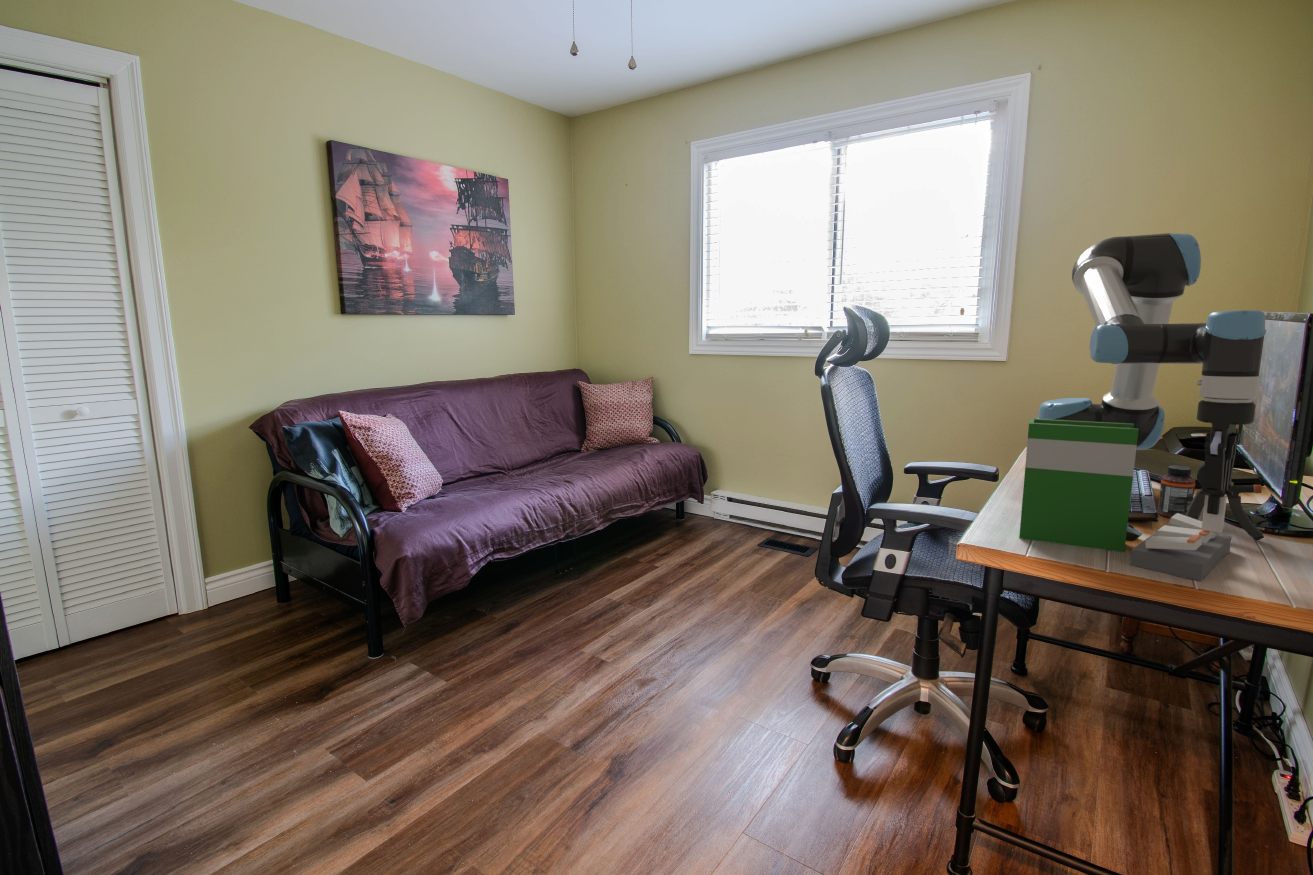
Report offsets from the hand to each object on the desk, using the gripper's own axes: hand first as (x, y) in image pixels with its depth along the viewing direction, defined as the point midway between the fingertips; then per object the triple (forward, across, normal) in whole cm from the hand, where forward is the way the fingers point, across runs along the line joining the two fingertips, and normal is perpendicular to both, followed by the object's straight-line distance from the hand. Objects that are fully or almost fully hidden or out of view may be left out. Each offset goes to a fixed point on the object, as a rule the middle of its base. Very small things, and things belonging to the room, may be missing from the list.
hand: (1212, 530), depth 115 cm
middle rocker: (+2, 0, -4) cm, 4 cm away
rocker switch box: (+6, -3, -4) cm, 8 cm away
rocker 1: (+2, +7, -4) cm, 8 cm away
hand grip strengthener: (+6, -21, -2) cm, 22 cm away
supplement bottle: (+6, -31, -12) cm, 34 cm away
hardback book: (+6, +4, -21) cm, 22 cm away
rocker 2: (+2, -8, -4) cm, 9 cm away
